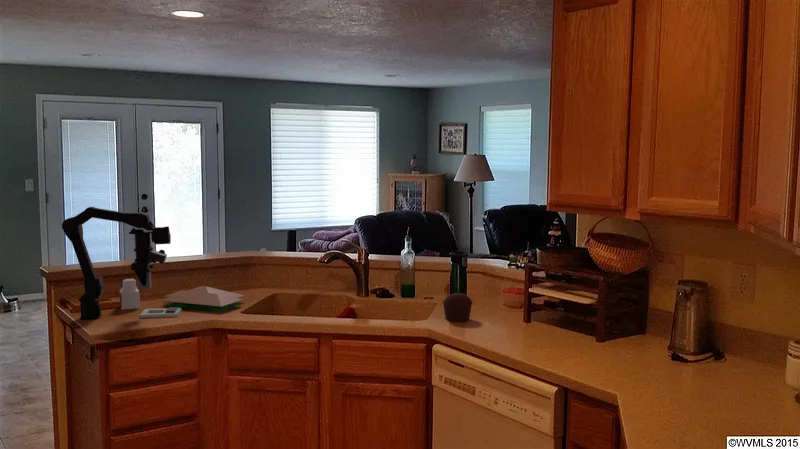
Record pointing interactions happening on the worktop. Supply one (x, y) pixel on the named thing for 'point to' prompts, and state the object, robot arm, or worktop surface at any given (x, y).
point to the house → (204, 298)
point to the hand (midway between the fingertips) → (145, 284)
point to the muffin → (457, 307)
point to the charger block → (148, 282)
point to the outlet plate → (161, 312)
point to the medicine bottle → (129, 294)
